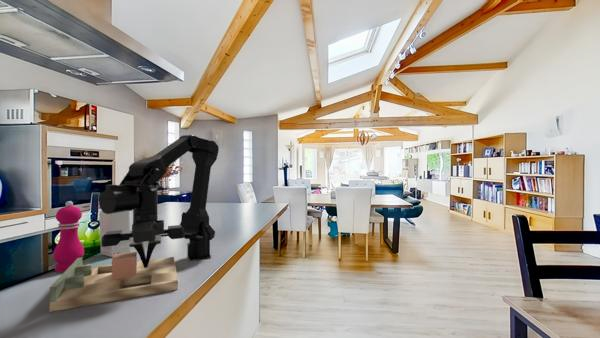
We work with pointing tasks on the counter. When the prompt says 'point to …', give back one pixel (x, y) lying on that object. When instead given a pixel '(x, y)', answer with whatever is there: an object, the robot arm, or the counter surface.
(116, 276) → the block
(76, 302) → the board
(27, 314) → the counter surface
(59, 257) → the pepper mill
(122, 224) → the skincare box
